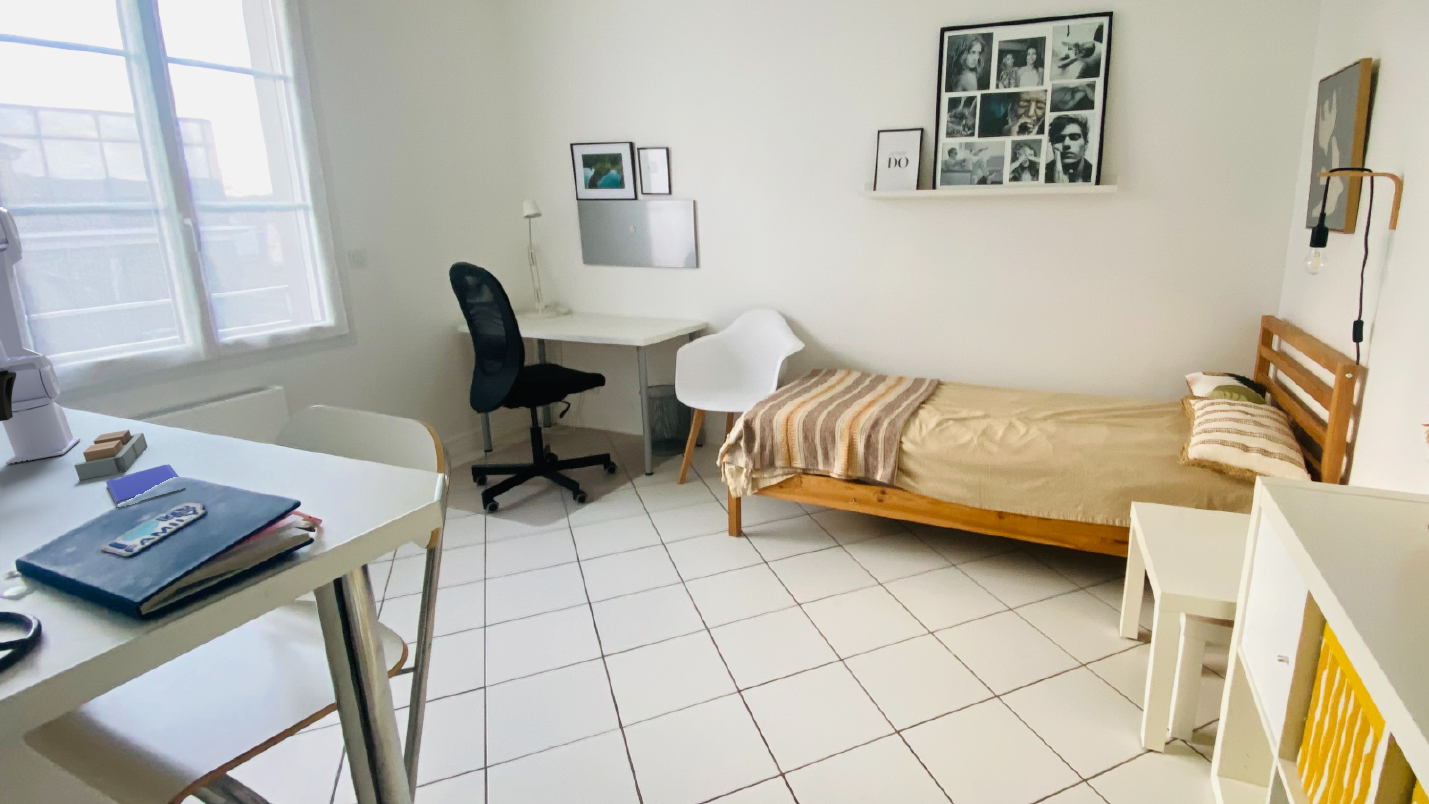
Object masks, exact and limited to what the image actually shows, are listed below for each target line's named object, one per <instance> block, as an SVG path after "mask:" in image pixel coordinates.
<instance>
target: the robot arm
mask: <svg viewBox="0 0 1429 804" xmlns="http://www.w3.org/2000/svg"><path fill="white" fill-rule="evenodd" d="M22 253H23V249H22V244H21V238H20V233H19V230H18V227H17V224H16V222H15V219H14V217H13V215H12V213H11V212H10V211H9V210H8V209H6V208H5V207H2V206H0V422H1V423H2V425H3V427H4V430H5V433H6V435H7V438H8V441H9V443H10V445H11V448H12V451H13V453H14V455H13V456H11V457H10V458H9V459H8V460H5V464H7V465H10V464H9V463H12V464H16V463H15V462H17V463H22V462H21V461H23V462H26V461H25V460H28V461H32V460H40V459H44V458H50V457H56V456H60V455H64V454H66V453H67V452H68V451H69V450H70V449H71V448H73V447H74V445H76V444H77V443H78V442H80V440H81V437H78V436H77V437H73V433H72V431H71V430H72V429H71V428H70V426H69V423H68V419H67V416H66V414H65V412H64V409H63V408H62V406H61V405H59V404H58V403H57V402H55V400H56V399H58V397H59V396H60V395H61V388H60V387H61V386H60V382H59V379H58V376H57V374H56V372H55V369H54V366H53V363H52V362H51V360H50V359H49V358H48V357H47V356H46V355H45V354H42V353H41V352H36V351H34V350H31V349H28V344H27V340H26V339H27V337H26V334H25V330H24V326H23V325H24V324H23V320H22V316H21V311H20V307H19V302H18V301H19V300H18V298H17V293H16V289H15V288H16V287H15V283H14V269H13V267H14V265H15V264H17V263H18V262H20V261H21V260H22V259H23V254H22Z"/></svg>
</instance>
